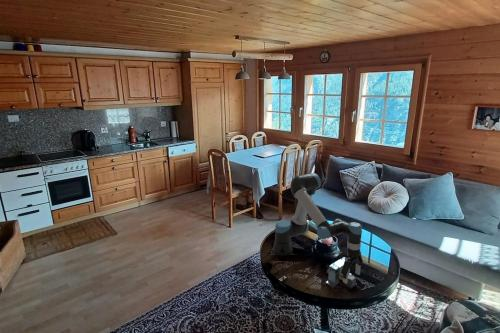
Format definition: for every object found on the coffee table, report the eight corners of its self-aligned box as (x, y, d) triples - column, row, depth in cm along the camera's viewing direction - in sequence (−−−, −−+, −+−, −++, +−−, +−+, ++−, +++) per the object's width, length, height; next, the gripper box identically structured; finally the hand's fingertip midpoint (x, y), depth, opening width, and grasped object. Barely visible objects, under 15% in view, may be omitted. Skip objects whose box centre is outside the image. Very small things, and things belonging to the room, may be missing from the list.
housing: (325, 283, 184) (326, 266, 181) (344, 271, 196) (345, 255, 193) (332, 287, 180) (334, 271, 177) (351, 275, 192) (352, 259, 189)
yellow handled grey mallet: (326, 273, 194) (326, 266, 192) (329, 271, 196) (330, 263, 194) (351, 288, 179) (351, 280, 178) (354, 285, 182) (355, 277, 180)
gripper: (347, 257, 164) (344, 289, 169) (370, 243, 179) (367, 273, 184) (336, 252, 170) (334, 283, 175) (359, 238, 185) (357, 267, 190)
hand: (351, 278), depth 180 cm, fingers open, 13 cm apart
